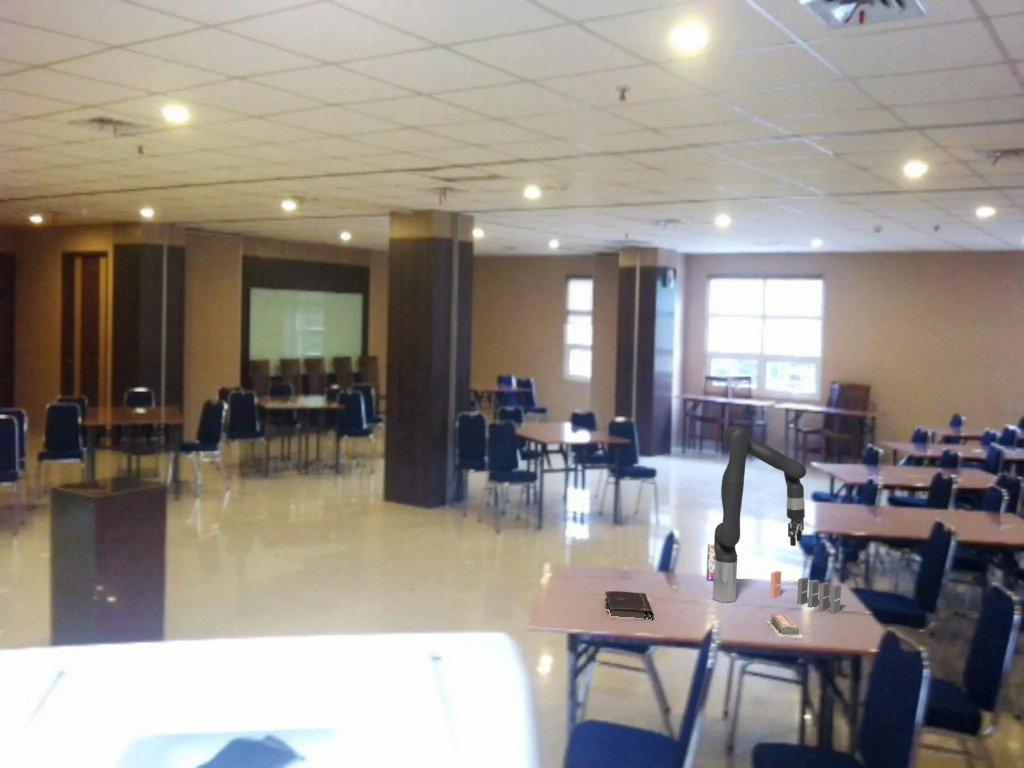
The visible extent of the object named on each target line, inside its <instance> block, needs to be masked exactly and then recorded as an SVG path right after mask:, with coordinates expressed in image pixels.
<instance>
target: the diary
mask: <svg viewBox="0 0 1024 768" xmlns="http://www.w3.org/2000/svg"><path fill="white" fill-rule="evenodd" d="M604 594H605V600H606V602H607V603H606V604H605V603H604V605H605V607H606V606H607V608H606V610H607V609H609V610H610V613H611V616H619V617H635V618H645V615H646V617H647V618H648V619H651V618H652V619H653V620H654V616H655V615H654V614H655V613H654V611H653V609H652V607H651V603H650V602H649V600H648V595H647V594H646V593H644V592H631V591H618V590H615V591H613V590H612V591H611V590H610V591H609V590H608V591H604ZM650 615H651V618H650ZM645 619H646V618H645Z"/></svg>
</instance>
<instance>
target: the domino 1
mask: <svg viewBox="0 0 1024 768" xmlns="http://www.w3.org/2000/svg"><path fill="white" fill-rule="evenodd" d="M781 586H782V571H781V570H776V571H773V572H771V575H770V595H769V596H770V597H772V598H771V599H773V598H774V599H776V598H775V597H777V598H779V597H778V596H780V597H781Z"/></svg>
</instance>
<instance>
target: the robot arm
mask: <svg viewBox="0 0 1024 768" xmlns="http://www.w3.org/2000/svg"><path fill="white" fill-rule="evenodd" d="M722 439H723V442H724V444H726V445H727V446H728V447H729V449H730V450H729V459H728V462H727V465H726V467H725V470H724V472H723V474H722V477H721V478H722V479H721V486H720V495H721V496H720V499H721V505H722V511H723V513H722V522H721V523H718V524H717V526H716V527H715V529H714V536H713V537H714V541H713V544H714V551H715V578H714V581H712V582H713V585H712V600H713V601H717V602H720V603H724V604H725V603H733V602H736V599H737V598H736V595H737V569H738V554H737V551H736V545H737V544H738V543H739V541H740V538H741V512H742V506H743V505H742V502H743V493H744V487H745V486H744V485H745V474H746V463H747V462H746V461H747V455H748V454H749V455H751V456H753V457H755V458H757V459H758V460H760V461H762V462H763V463H765V464H767V465H769V466H771V467H772V468H774V469H776V470H779V471H782V472H783V475H784V480H785V484H786V518H787V519H790V522H788V523H787V536H788V538H789V540H790V541H789V542H790V543H789V544H790V545H789V546H791V547H795V546H796V545H797V543H796V542H802V541H803V532H804V529H805V526H804V525H805V524H804V523H805V522H804V519H805V516H806V514H805V513H806V512H805V511H806V510H805V509H806V508H805V507H806V506H805V503H806V502H805V496H804V495H805V489H804V485H803V484H802V483H801V480H800V479H803V478H805V476H806V474H807V469H806V466H805V465H804V464H803V463H801V462H799V461H798V460H795V459H793V458H790V457H788V456H787V455H785V454H783V453H782V452H780V451H778V450H776V449H774V448H772V447H770V446H768V445H766V444H764V443H761V442H759V441H757V440H755V439H753V438H752V437H750V433H749V432H748V430H747V429H745V428H744V427H741V426H736V425H735V426H734V425H731V426H727V427H726V428H725V429H724V431H723V433H722Z"/></svg>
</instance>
